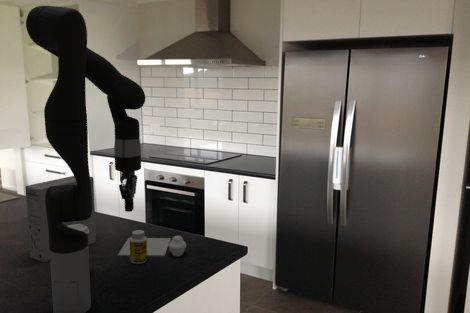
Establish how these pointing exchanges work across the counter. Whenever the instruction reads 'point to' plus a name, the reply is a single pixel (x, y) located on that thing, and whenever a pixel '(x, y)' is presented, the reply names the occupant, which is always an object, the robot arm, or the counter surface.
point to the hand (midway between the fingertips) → (129, 210)
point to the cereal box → (39, 217)
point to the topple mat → (149, 247)
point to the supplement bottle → (138, 247)
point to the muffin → (177, 246)
